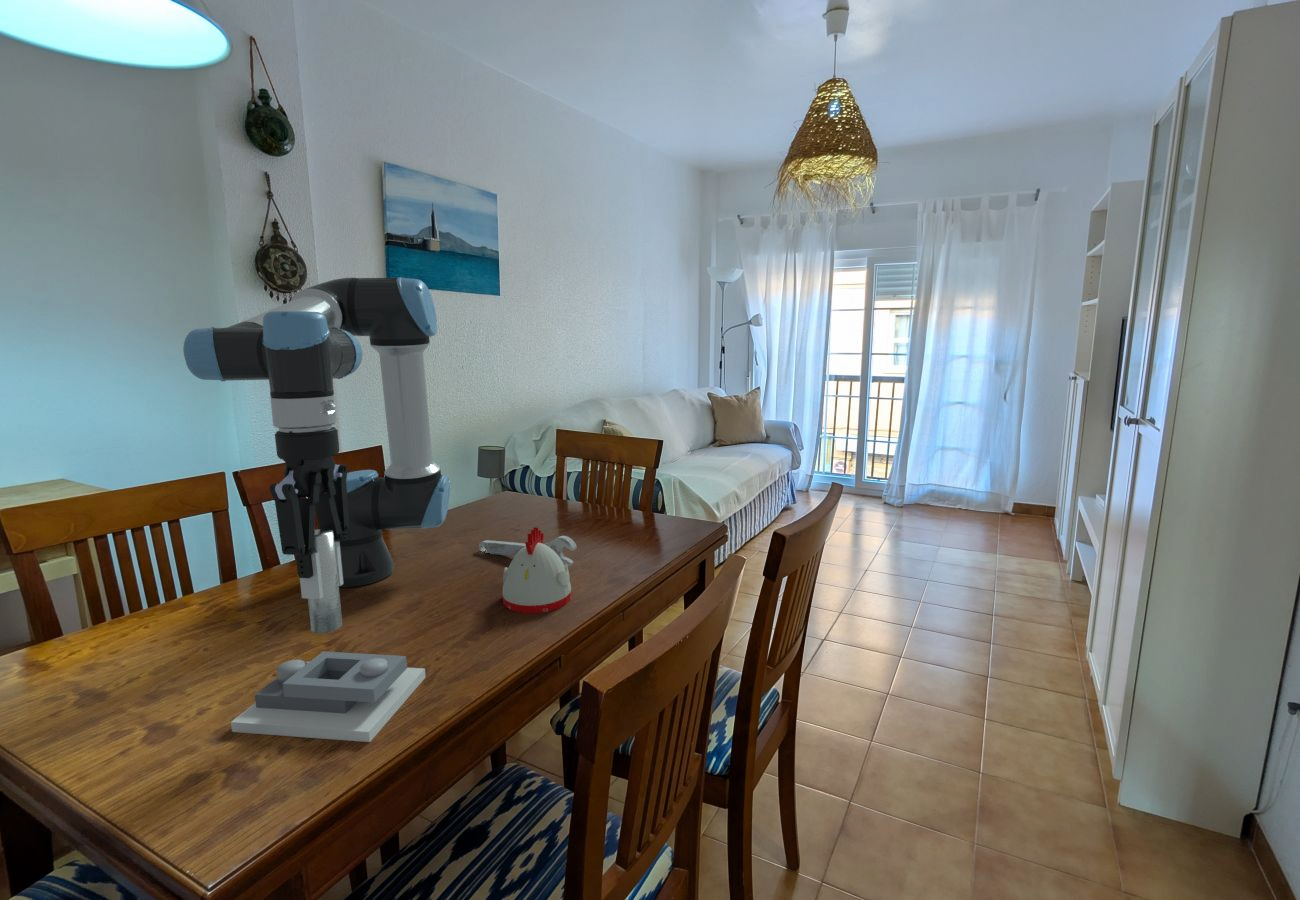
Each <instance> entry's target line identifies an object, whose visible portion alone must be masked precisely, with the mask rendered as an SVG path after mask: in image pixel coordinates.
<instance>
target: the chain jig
mask: <svg viewBox="0 0 1300 900" xmlns="http://www.w3.org/2000/svg"><path fill="white" fill-rule="evenodd" d="M276 673H277V674H276V675H277V677H275V678H274V679H273V680H271V682H269V683H267V684H266V685H265V686H264V687H263V688H261V689H260V690H258V691H257V692H256V693H255V694H254V701H255V702H254V703H253V704H252V705H251V706H249V707H248V708H247V709H246V710H244V711H243V712H241V713H240V714H239V715H238V716H236V717H235V718H233V720H232V721H230V727H231V732H232V733H243V734H254V735H257V734H259V735H267V736H268V735H269V736H270V735H271V736H279V737H280V736H281V737H282V736H283V737H295V738H296V737H298V738H311V739H324V740H337V741H348V742H349V741H351V742H365V743H370V742H372V741H373V739H374V738H375V737H376V736H377V735H378V734H379V732H380V731H381V730H382V729H383V728H384V726H385V725H387V724H388V722H389V721H390V719H392V717H393V716H394V715H395V714H396V712H397V711H398V710H399V709H400V708H401V707H402V706H403V704H405V702H406V700H408V698H410V696H411V695H412V694H413V693H414V692H415V690H416V689H417V688H418V687H419V686H420V685H421V684H422V682H423V681H424V680H425V679H426V668H425V667H424V668H422V667H408V663H407V656H406V655H392V654H375V653H359V652H358V653H355V652H343V651H342V652H340V651H325V650H324V651H321V652H320V653H319V654H318V655H317V656H315V657H313V659H311V660H310V661H304V660H303V659H292V660H288V661H287V660H286V661H285V662H283V663H280V664H279V665H278V666H277V667H276Z"/></svg>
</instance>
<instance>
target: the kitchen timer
mask: <svg viewBox="0 0 1300 900" xmlns="http://www.w3.org/2000/svg"><path fill="white" fill-rule="evenodd" d="M544 535H545V534H544V533H542V530H541V529H539V527H535V526H534V527H533V529H530V533H527V541H525V544H526V546H525V547H523V548H522V549H521V550H520V551H519V552H518V553H517V554H516V556H514V557H513V559H512V560H511V562H510V563H509V566H508V567H504V569H503V576H502V577H503V578H502V582H503V586H502V605H503V604H504V605H505V606H506V607H507V608H506V607H505V608H506V609H508V608H509V609H508V610H510V609H511V610H510V611H512V610H514V611H513V612H516V611H517V612H516V613H520V612H522V613H521V614H541V613H547V612H551V611H552V612H553V611H555V610H559V609H561V608H562V607H565V606H566V605H567V604H569V602H571V600H572V584H571V581H570V579H571V578H570V572H569V566H567V565H564V564H563V562H562V560H561V559H560V557H559V556H558V555H557V554H556V553H555V552H554V551H553V550H552V549H551V548H550V547H548V546H547V545H545V544H546V543H544V538H545V537H544ZM570 599H571V600H570ZM504 605H503V606H504ZM560 607H561V608H560Z"/></svg>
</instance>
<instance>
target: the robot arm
mask: <svg viewBox="0 0 1300 900" xmlns="http://www.w3.org/2000/svg"><path fill="white" fill-rule="evenodd" d="M431 294H432V293H431V292H430V289H429V288H428V286H427V284H426V283H425V282H423V280H420V279H418V278H408V277H407V278H406V277H401V276H400V277H342V278H336V279H332V280H327V281H325V282H321V283H318V284H315V285H313V286H309V287H307V288H305V289H302V290H300V291H298V292H296V293H295V294H294V295H293V296H292V297H291V299H290V301H288V302H285V303H284V304H281V305H278V306H277V307H274V308H271V309H269V310H266V311H265V312H262V313H260V314H257V315H255V316H253V317H250V318H248V319H246V320H243V321H241V322H238V323H235V324H233V325H231V326H228V327H214V326H209V327H207V328H205V327H204V328H195V329H193V330H191V331H189V332H188V334H187V335H186V337H185V339H184V342H183V347H182V348H183V349H182V351H183V357H184V360H185V365H186V366H187V369H188V370H189V371H190V373H191V374H192V375H193V376H195V378H198V379H200V380H205V381H220V382H226V381H261V380H263V381H266V380H267V381H268V382H269V389H270V390H269V391H270V392H269V394H270V409H271V415H272V416H271V418H272V426H273V427H275V428H277V429H278V430H277V431H275V433H274V439H275V449H276V456H277V458H279V459H280V460H282V461H283V462H284V464H285V465H284V466H285V467H284V472H283V477H284V478H283V479H282V480H281V481H280V482H279V483H271V484H270V486H269V491H270V494H271V496H272V498H273V501H274V506H275V510H276V518H277V525H278V533H279V539H280V540H279V541H280V545H281V552H282V554H283V555H288V556H289V555H291V556H293V555H294V556H295V559H296V561H295V562H296V569H297V577H298V578H299V583H300V584H299V585H300V592H301V599H307V600H308V599H321V598H323V597H324V596H323V586H322V576H321V567H320V557H319V552H314V540H315V530H316V517H317V522H318V525H319V526H318V527H319V529H331V530H333V534H334V544H335V554H336V564H337V574H338V585H339V588H352V587H355V588H356V587H360V586H365V585H370V584H374V583H377V582H379V581H381V580H384V579H386V578H388V577H389V576H390V575H392V574H393V572H394V571H395V566H394V559H393V557H392V555H391V553H390V550H389V549H388V547H387V544H386V543H385V540H384V537H383V536H384V535H383V530H408V529H409V530H410V529H411V530H413V529H414V530H415V529H416V530H417V529H418V530H419V529H420V530H423V529H430V528H438V527H440V526H442V524H443V523H444V522H445V520H446V518H447V515H448V510H449V506H450V505H449V504H450V495H451V494H450V493H451V482H450V477H449V476H448V475H446V474H442V473H441V471H442V470H441V465H439V464H438V463H437V462H436V461H434V460H433V452H432V441H431V430H430V428H431V427H430V417H429V415H430V414H429V406H428V396H427V395H428V393H427V382H426V371H425V370H426V369H425V361H424V360H425V359H424V352H425V351H426V349H427V348H428V347H429V346H430V345H431V343H430V342H431V340H430V338H431V337H433V336H435V335H437V331H438V324H437V323H438V322H437V321H438V320H437V314H436V313H437V312H436V308H435V303H434V300H433V297H432V295H431ZM357 337H369V346H370V347H371V348H372V349H374V350H375V351H376V352H377V354H378V356H379V362H380V363H379V364H380V371H381V373H380V375H381V382H382V390H383V391H382V392H383V400H384V403H383V404H384V409H385V410H384V411H385V421H386V428H387V429H386V431H387V437H388V439H387V440H388V447H389V456H390V464H389V466H388V467H387V468H386V469H385V470H384V474H383V475H384V477H379V473H378V472H377V470H374V469H361V470H355V471H350V472H348V470H349V468H348V465H345V464H336V462H335V460H334V458H333V457H335V456H336V455H338V454H339V453H340V441H339V431H338V429H337V428H336V427H333V425H334V424H336V422H337V415H336V405H335V396H334V395H335V391H334V380H335V379H337V380H340V379H343V378H346V377H347V376H350V375H351V374H354V372H356V371H357V370H358V368H359V367H360V366H361V363H362V360H363V349H362V346H361V344H360V341H359V340H358V339H357ZM333 379H334V380H333Z"/></svg>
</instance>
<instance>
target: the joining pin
mask: <svg viewBox="0 0 1300 900" xmlns="http://www.w3.org/2000/svg"><path fill="white" fill-rule="evenodd" d="M314 552H319V557H320V567H321V576H322V586H323V596H324V597H323V598H321V599H307V604H308V605H307V606H308V612H309V620H310V621H309V622H310V630H311V632H312V633H314V634H326V633H327V634H328V633H330V632H334V631H336V630H338V629H340V628H341V627H342V626H343V618H342V606H341V597H340V587H339V585H338V574H337V564H336V554H335V544H334V534H333V530H331V529H320V528H319V529H318V528H317V529H315V540H314Z"/></svg>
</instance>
